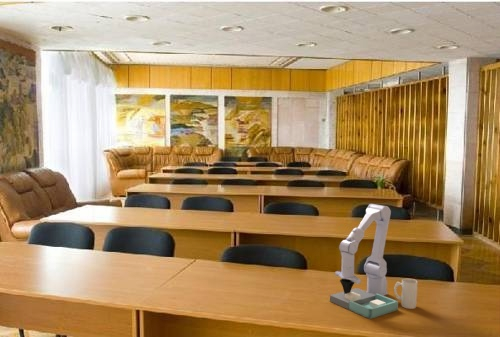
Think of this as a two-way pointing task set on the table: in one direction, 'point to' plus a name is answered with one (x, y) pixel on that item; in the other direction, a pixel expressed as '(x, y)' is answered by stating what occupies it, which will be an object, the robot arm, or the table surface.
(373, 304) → the tile
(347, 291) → the robot arm
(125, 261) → the table surface
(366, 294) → the grey flat slab
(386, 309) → the tray
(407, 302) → the mug
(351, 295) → the tile
